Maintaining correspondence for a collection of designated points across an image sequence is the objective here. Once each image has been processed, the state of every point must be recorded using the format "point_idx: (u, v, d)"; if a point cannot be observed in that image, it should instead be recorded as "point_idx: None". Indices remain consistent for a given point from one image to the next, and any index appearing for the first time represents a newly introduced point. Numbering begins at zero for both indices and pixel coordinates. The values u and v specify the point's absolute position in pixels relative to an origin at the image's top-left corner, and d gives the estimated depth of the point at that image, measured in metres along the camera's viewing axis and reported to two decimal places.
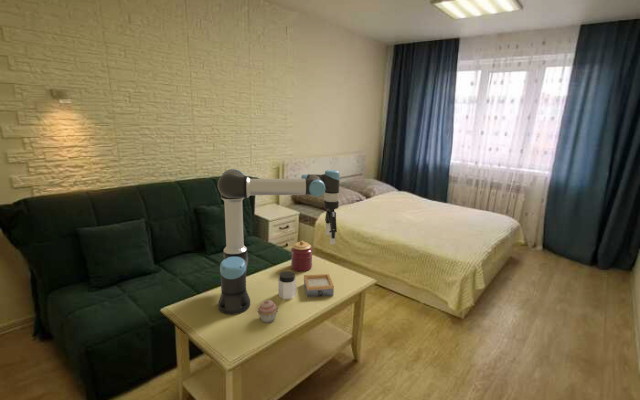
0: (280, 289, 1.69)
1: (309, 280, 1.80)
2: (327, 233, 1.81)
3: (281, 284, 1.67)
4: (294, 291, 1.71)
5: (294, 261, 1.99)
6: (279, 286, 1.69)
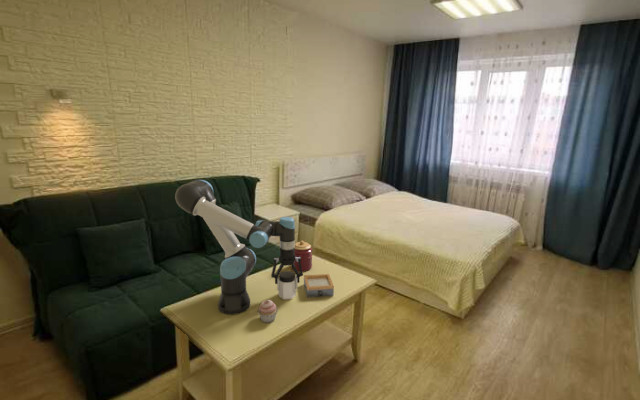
0: (280, 289, 1.69)
1: (309, 280, 1.80)
2: None
3: (281, 284, 1.67)
4: (294, 291, 1.71)
5: (294, 261, 1.99)
6: (279, 286, 1.69)
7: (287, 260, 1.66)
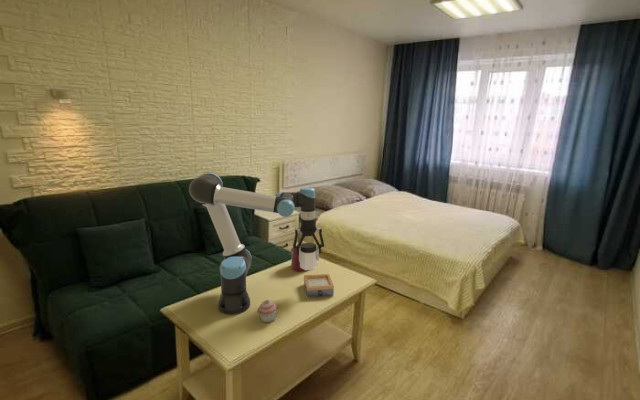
0: (302, 260, 1.69)
1: (309, 280, 1.80)
2: None
3: (303, 254, 1.67)
4: (316, 262, 1.71)
5: (294, 261, 1.99)
6: (301, 257, 1.70)
7: (308, 231, 1.67)
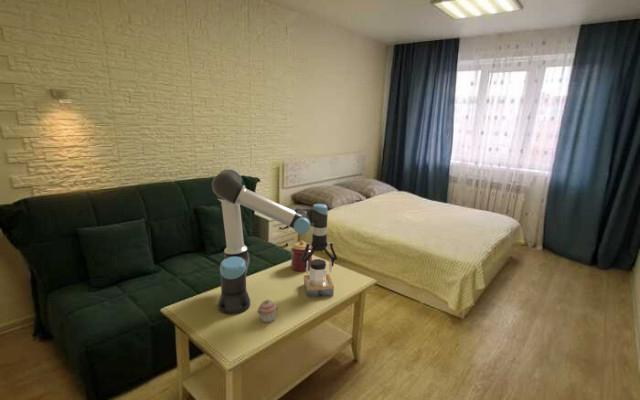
0: (311, 276, 1.74)
1: None
2: (329, 269, 1.77)
3: (313, 271, 1.72)
4: (325, 278, 1.76)
5: (294, 261, 1.99)
6: (310, 273, 1.74)
7: (319, 246, 1.72)
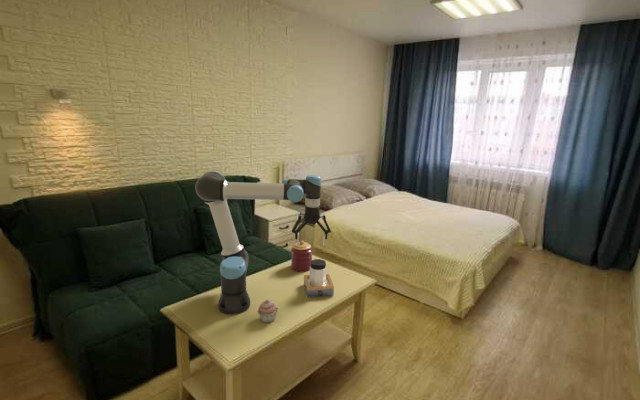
0: (311, 276, 1.74)
1: None
2: None
3: (313, 271, 1.72)
4: (325, 278, 1.76)
5: (294, 261, 1.99)
6: (310, 273, 1.74)
7: (312, 218, 1.69)
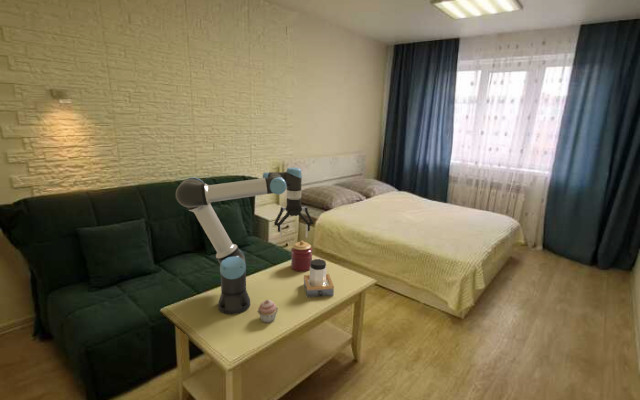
0: (311, 276, 1.74)
1: None
2: None
3: (313, 271, 1.72)
4: (325, 278, 1.76)
5: (294, 261, 1.99)
6: (310, 273, 1.74)
7: (294, 210, 1.70)
